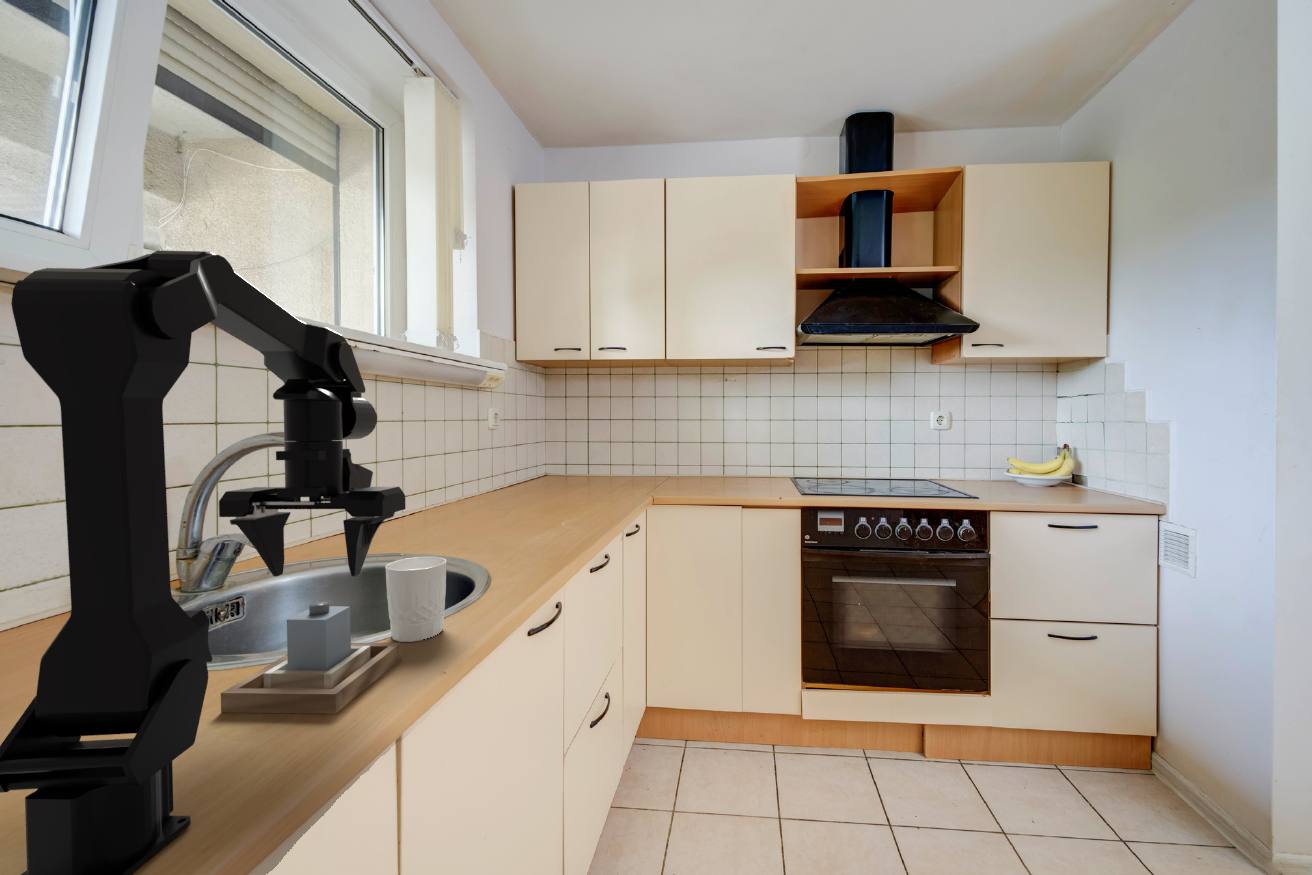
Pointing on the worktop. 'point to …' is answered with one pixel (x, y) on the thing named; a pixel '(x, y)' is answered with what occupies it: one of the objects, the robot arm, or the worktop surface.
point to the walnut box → (311, 683)
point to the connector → (318, 637)
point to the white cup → (416, 597)
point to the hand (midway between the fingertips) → (316, 575)
